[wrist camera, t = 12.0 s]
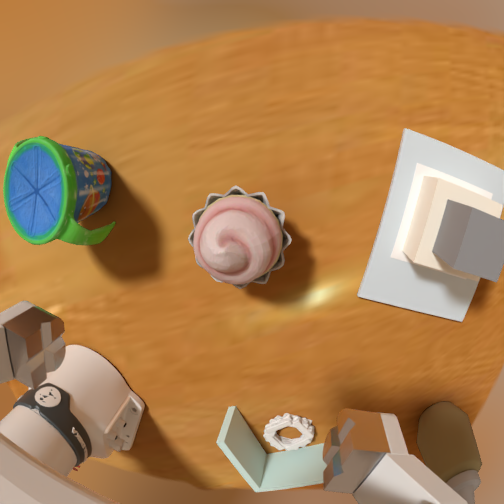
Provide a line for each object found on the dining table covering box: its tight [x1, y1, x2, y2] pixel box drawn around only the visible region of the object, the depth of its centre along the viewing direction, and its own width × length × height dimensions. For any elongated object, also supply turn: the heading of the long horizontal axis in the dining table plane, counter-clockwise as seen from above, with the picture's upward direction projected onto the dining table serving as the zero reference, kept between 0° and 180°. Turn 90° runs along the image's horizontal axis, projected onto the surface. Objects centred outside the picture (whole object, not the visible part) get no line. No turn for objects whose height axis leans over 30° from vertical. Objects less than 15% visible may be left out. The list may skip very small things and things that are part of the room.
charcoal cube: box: [432, 199, 504, 282], centre depth 23 cm, size 5×5×5 cm
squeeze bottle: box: [416, 401, 482, 504], centre depth 28 cm, size 8×8×18 cm
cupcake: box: [188, 186, 292, 289], centre depth 29 cm, size 9×9×10 cm
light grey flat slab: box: [357, 128, 504, 322], centre depth 30 cm, size 18×14×1 cm
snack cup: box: [3, 136, 116, 245], centre depth 30 cm, size 16×10×10 cm
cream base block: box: [402, 176, 503, 282], centre depth 27 cm, size 8×8×4 cm
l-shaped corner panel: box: [216, 406, 327, 492], centre depth 37 cm, size 12×12×8 cm
